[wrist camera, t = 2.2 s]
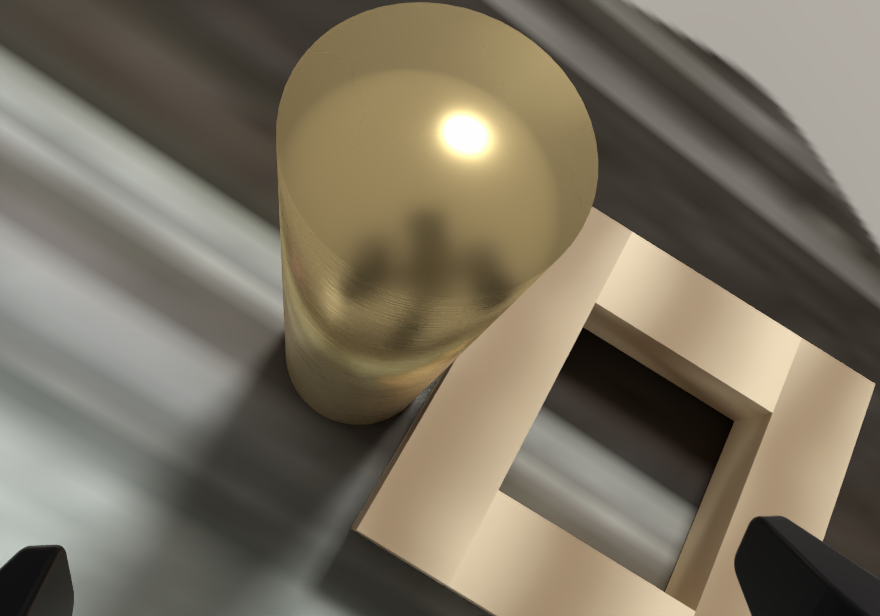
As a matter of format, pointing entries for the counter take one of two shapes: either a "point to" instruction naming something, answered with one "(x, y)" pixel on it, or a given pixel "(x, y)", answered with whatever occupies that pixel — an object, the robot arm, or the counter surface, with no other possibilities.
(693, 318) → the jig
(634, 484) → the counter surface
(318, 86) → the brass cylinder peg
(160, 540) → the counter surface
